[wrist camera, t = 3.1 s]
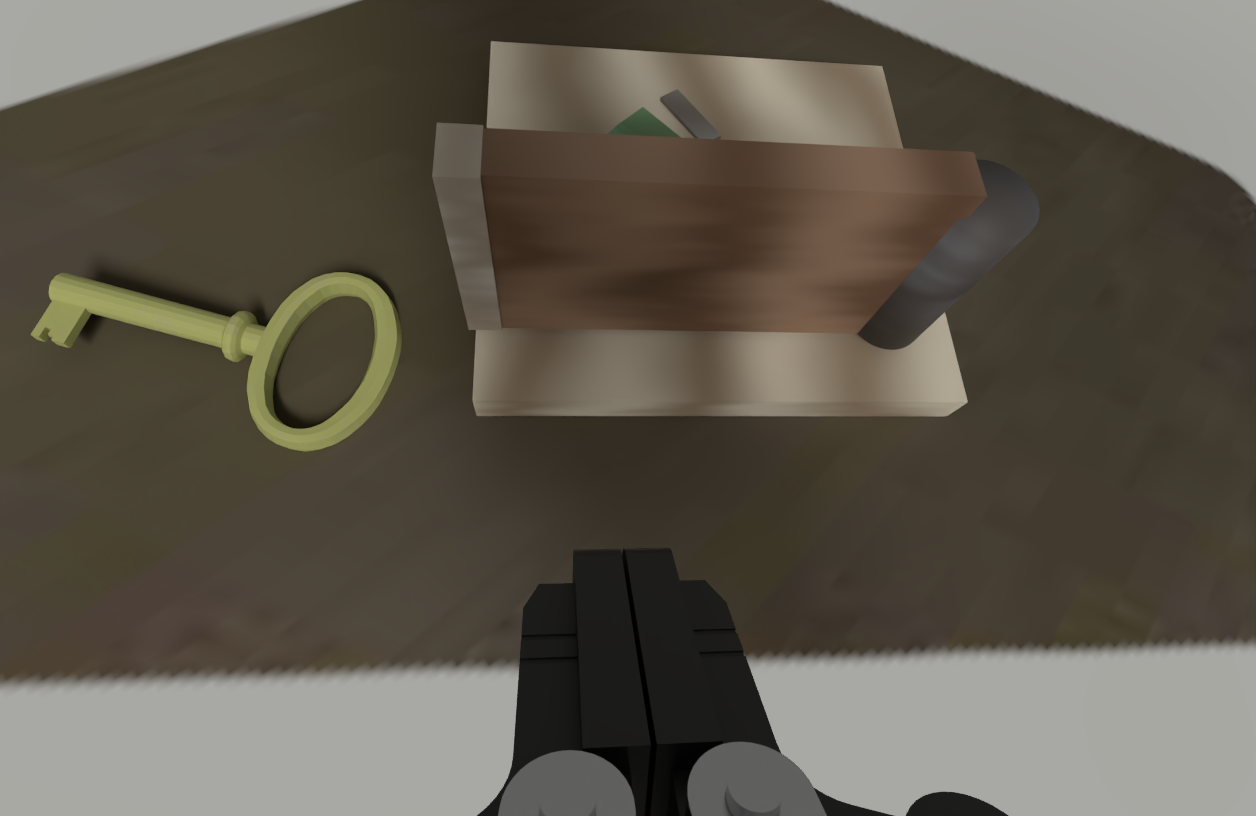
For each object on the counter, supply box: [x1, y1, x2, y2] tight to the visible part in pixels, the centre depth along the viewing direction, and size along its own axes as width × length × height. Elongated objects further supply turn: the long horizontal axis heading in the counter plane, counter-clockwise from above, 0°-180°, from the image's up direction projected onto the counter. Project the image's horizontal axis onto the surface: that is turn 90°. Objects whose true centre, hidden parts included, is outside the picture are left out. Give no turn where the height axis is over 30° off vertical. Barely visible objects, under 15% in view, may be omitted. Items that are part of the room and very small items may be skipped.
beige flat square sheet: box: [472, 41, 968, 416], centre depth 29 cm, size 19×18×2 cm
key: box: [31, 272, 402, 451], centre depth 24 cm, size 7×12×2 cm, turn 97°
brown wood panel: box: [432, 123, 1040, 350], centre depth 22 cm, size 18×3×8 cm, turn 92°
